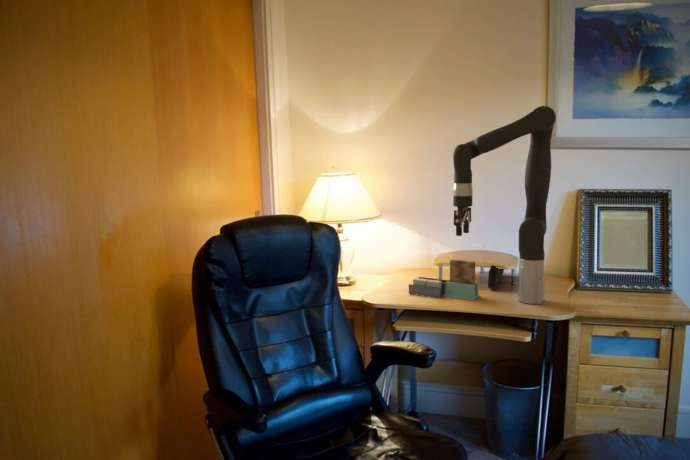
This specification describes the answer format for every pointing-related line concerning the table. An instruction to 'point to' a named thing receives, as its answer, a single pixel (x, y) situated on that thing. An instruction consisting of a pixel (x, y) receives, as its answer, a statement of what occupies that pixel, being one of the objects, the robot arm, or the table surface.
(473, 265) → the walnut panel
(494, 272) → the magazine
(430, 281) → the offcut
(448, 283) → the green rectangular block
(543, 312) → the table surface
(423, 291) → the offcut rack
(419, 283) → the offcut
